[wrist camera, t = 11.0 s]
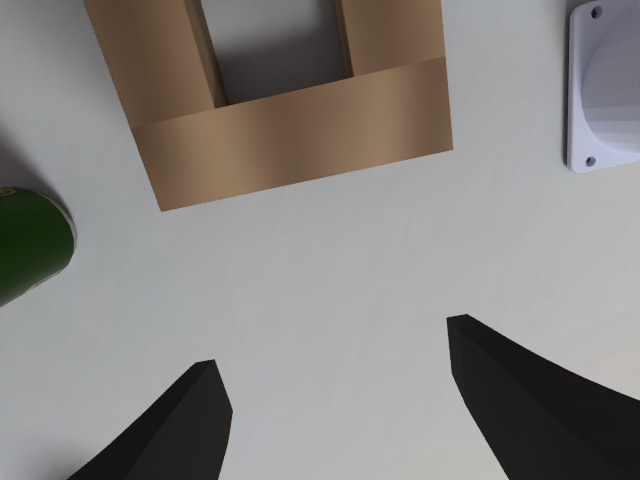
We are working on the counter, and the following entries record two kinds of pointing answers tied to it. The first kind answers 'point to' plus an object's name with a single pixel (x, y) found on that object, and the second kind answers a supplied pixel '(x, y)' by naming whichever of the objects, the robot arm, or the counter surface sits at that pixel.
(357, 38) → the bore block
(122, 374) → the counter surface
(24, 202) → the green soda can
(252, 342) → the counter surface
